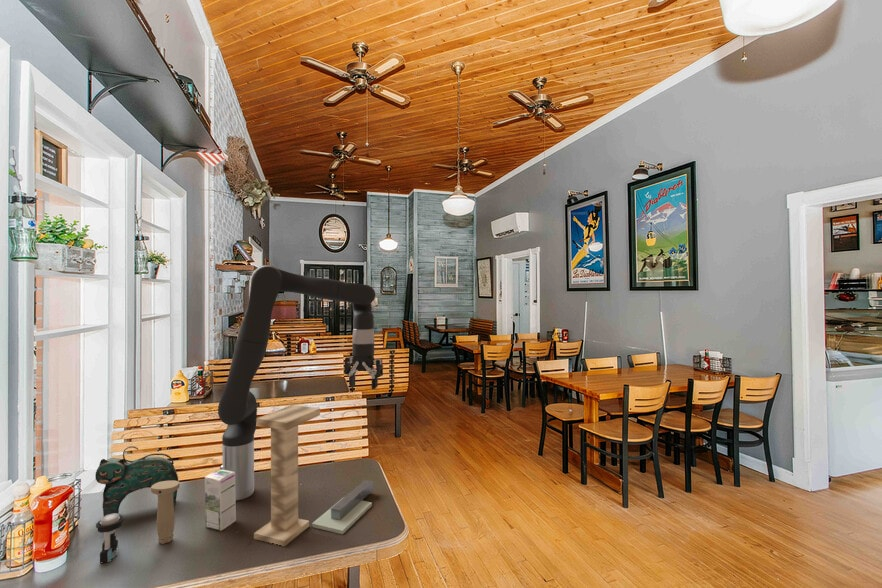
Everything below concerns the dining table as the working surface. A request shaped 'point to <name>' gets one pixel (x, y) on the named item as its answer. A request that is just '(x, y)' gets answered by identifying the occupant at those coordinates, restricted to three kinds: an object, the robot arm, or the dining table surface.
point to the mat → (345, 523)
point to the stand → (284, 473)
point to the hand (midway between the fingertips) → (363, 387)
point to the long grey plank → (351, 500)
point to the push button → (109, 535)
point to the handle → (165, 509)
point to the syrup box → (220, 499)
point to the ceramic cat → (132, 477)
